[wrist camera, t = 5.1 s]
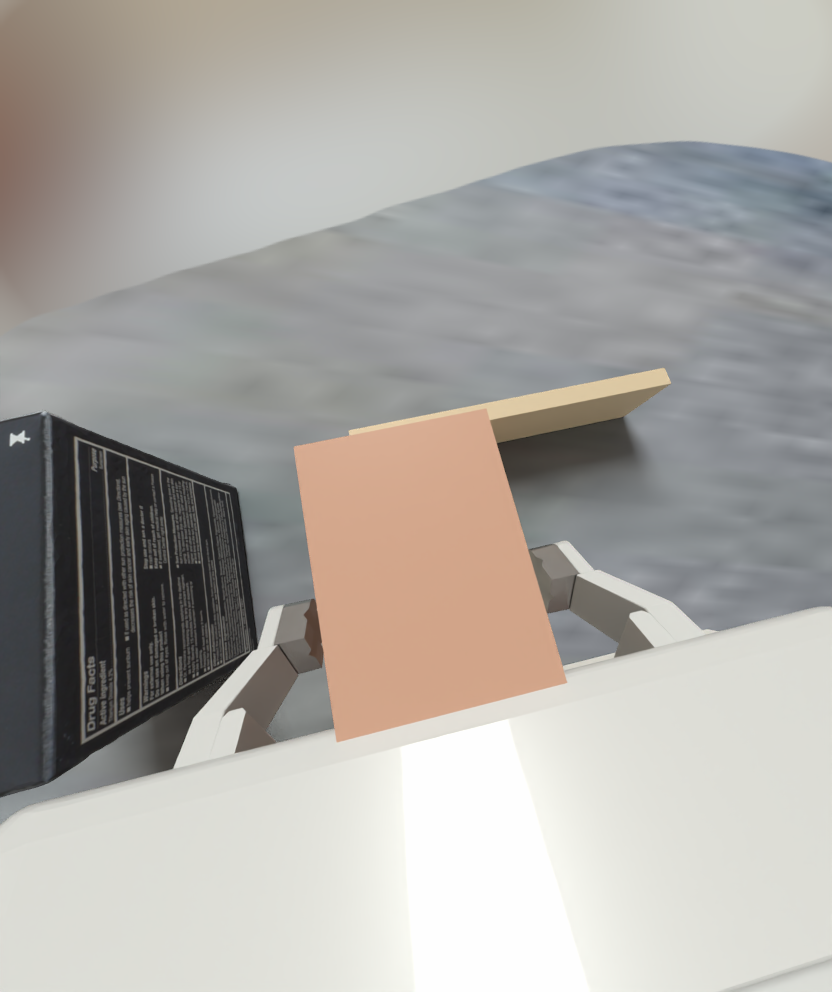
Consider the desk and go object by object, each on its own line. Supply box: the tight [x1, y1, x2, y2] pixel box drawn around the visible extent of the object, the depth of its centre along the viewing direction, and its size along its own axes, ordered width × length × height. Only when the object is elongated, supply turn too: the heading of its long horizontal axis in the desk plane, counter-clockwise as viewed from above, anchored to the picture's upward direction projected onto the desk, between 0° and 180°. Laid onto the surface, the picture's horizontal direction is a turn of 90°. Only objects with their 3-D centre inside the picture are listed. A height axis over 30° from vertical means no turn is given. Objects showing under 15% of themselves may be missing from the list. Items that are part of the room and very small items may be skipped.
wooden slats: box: [349, 368, 718, 670], centre depth 17 cm, size 20×16×4 cm
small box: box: [0, 411, 257, 797], centre depth 13 cm, size 11×6×10 cm, turn 14°
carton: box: [294, 409, 567, 742], centre depth 13 cm, size 5×8×12 cm, turn 13°
